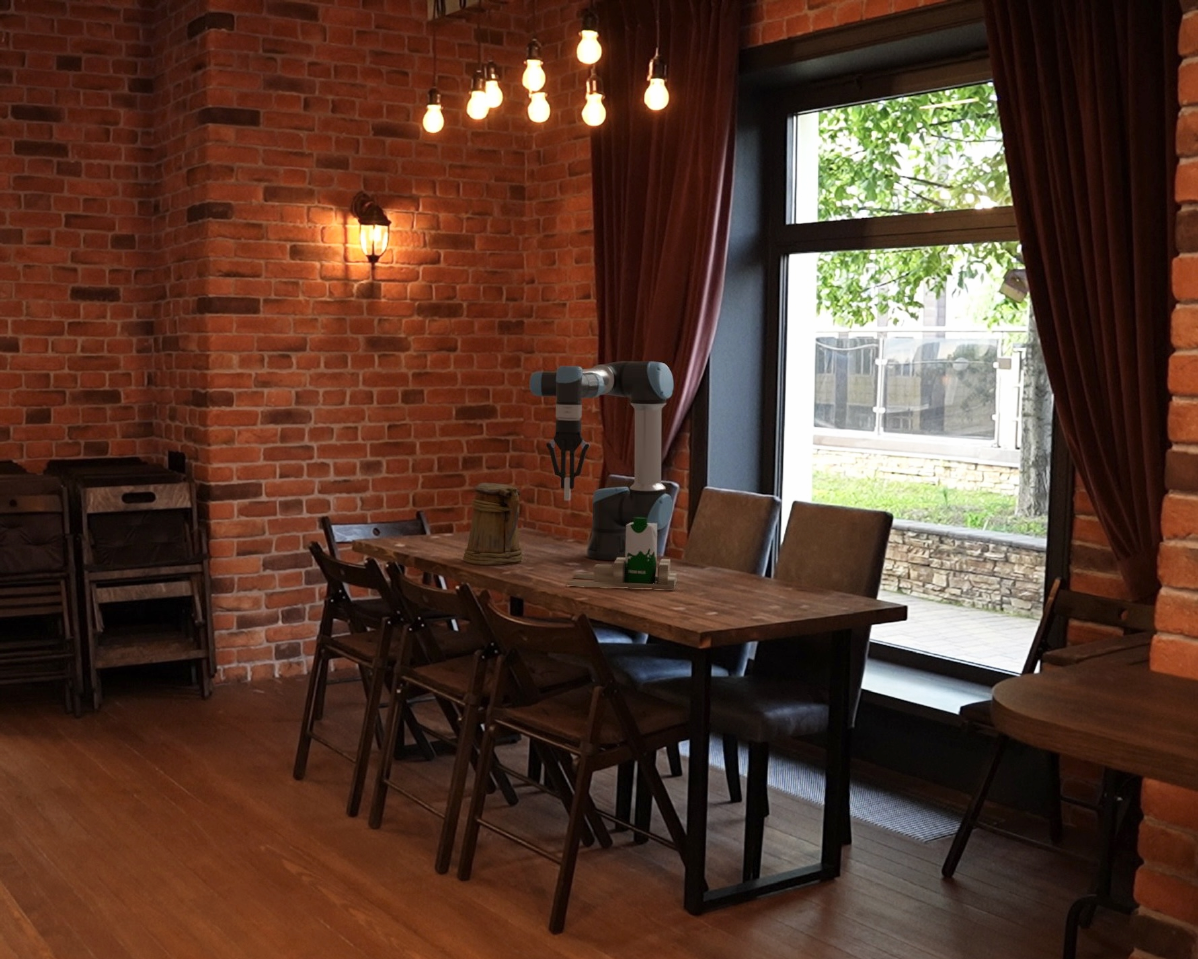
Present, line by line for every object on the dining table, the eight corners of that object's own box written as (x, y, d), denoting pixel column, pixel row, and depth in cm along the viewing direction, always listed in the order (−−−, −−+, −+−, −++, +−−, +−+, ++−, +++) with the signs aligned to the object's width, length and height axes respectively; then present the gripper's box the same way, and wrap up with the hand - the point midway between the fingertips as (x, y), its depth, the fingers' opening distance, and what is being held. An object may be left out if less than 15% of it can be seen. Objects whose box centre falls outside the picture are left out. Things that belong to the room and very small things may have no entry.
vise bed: (573, 577, 409) (574, 554, 408) (676, 581, 406) (677, 558, 405) (567, 586, 393) (567, 562, 392) (674, 590, 390) (674, 566, 389)
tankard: (498, 555, 450) (499, 480, 448) (542, 565, 433) (543, 486, 430) (452, 560, 438) (453, 482, 436) (496, 570, 421) (497, 489, 418)
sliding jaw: (596, 579, 406) (597, 556, 406) (627, 580, 405) (627, 557, 405) (592, 585, 394) (592, 562, 394) (623, 587, 393) (624, 563, 393)
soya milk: (622, 586, 396) (623, 517, 394) (629, 581, 404) (631, 514, 403) (651, 588, 393) (653, 519, 392) (658, 583, 402) (660, 516, 400)
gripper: (544, 419, 394) (543, 500, 396) (589, 420, 392) (588, 502, 395) (548, 418, 401) (546, 498, 403) (592, 419, 400) (590, 499, 402)
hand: (567, 499), depth 399 cm, fingers closed
